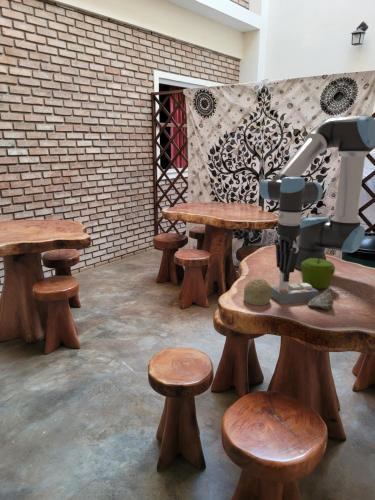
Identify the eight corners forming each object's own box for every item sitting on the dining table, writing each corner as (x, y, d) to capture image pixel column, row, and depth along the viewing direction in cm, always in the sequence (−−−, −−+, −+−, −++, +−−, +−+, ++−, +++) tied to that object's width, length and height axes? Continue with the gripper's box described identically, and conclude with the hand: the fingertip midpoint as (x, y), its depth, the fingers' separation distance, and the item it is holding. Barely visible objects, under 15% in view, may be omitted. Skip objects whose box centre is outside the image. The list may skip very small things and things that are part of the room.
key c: (284, 293, 130) (285, 287, 130) (289, 296, 127) (289, 291, 127) (276, 293, 130) (277, 288, 129) (281, 297, 127) (281, 291, 126)
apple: (294, 281, 147) (297, 254, 144) (323, 280, 148) (326, 254, 145) (307, 292, 135) (310, 263, 132) (338, 292, 136) (342, 263, 133)
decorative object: (255, 316, 123) (274, 296, 119) (233, 296, 126) (251, 275, 122) (263, 309, 131) (281, 289, 127) (242, 290, 134) (259, 270, 130)
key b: (295, 289, 131) (296, 283, 131) (300, 292, 128) (301, 286, 128) (287, 289, 130) (288, 284, 130) (292, 293, 127) (293, 287, 127)
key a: (306, 287, 133) (306, 282, 132) (311, 291, 130) (311, 285, 129) (298, 288, 132) (298, 283, 131) (303, 291, 129) (304, 286, 128)
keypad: (304, 291, 136) (305, 282, 135) (317, 299, 128) (318, 289, 127) (270, 295, 132) (270, 285, 131) (281, 304, 124) (282, 293, 123)
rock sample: (301, 289, 128) (323, 278, 123) (315, 301, 130) (336, 290, 125) (303, 312, 120) (326, 300, 115) (318, 324, 122) (341, 313, 117)
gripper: (269, 220, 127) (265, 284, 133) (289, 227, 115) (283, 297, 121) (288, 220, 129) (283, 282, 135) (310, 226, 117) (303, 294, 123)
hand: (283, 289), depth 128 cm, fingers closed
